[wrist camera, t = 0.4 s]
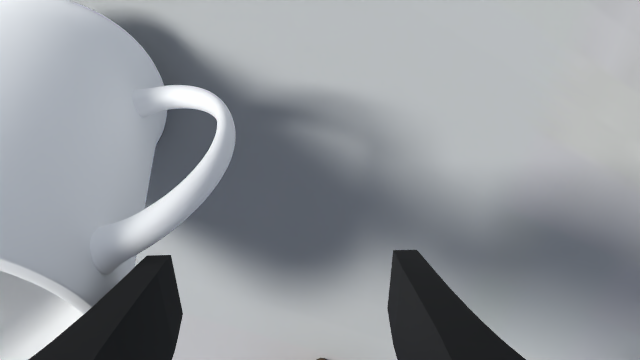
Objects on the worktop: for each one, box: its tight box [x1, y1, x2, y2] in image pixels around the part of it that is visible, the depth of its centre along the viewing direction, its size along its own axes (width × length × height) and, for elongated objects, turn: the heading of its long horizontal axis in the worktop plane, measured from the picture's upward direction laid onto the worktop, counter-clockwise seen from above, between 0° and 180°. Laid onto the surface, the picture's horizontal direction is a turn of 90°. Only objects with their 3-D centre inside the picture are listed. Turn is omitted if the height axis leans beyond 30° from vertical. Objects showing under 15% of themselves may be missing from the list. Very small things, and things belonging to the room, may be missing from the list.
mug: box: [0, 0, 236, 360], centre depth 14 cm, size 12×8×12 cm
